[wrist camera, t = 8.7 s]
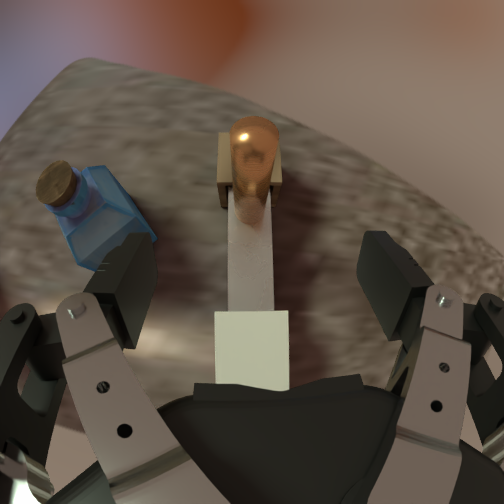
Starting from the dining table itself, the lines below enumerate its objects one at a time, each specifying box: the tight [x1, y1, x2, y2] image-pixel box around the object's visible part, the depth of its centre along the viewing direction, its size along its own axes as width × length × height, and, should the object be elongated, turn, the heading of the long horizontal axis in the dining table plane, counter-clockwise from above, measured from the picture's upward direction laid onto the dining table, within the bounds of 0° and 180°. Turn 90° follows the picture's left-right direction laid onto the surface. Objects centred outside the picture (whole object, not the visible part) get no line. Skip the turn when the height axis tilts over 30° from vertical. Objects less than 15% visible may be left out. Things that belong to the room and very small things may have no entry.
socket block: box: [217, 133, 282, 207], centre depth 26 cm, size 5×5×5 cm
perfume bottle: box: [36, 160, 158, 272], centre depth 21 cm, size 6×6×12 cm
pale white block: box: [215, 311, 289, 391], centre depth 22 cm, size 5×9×5 cm, turn 1°
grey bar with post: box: [228, 116, 279, 312], centre depth 19 cm, size 3×16×13 cm, turn 1°
